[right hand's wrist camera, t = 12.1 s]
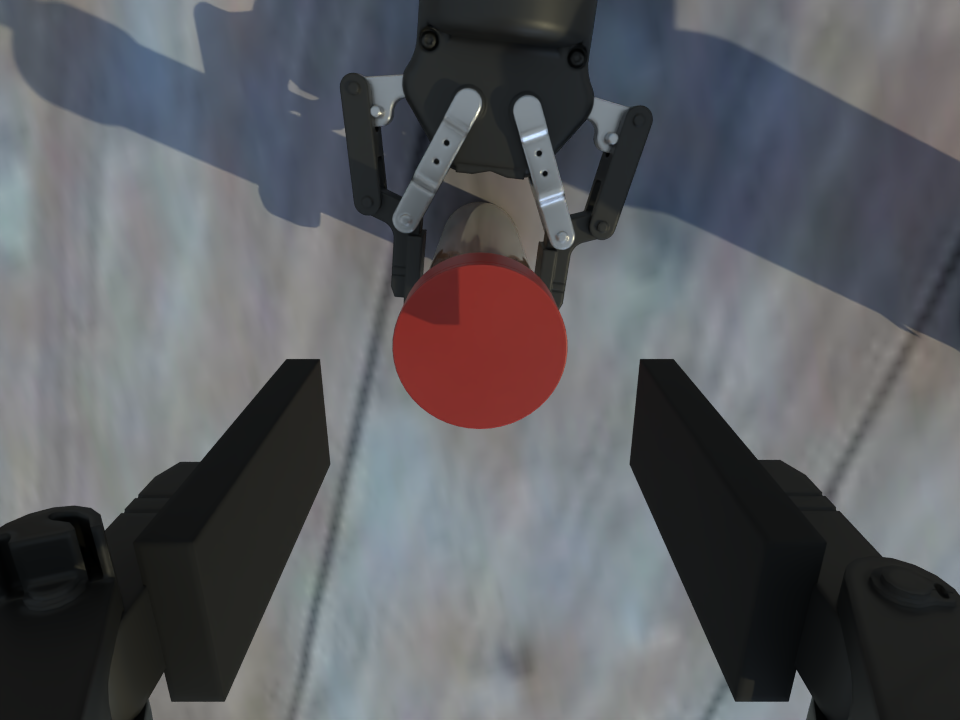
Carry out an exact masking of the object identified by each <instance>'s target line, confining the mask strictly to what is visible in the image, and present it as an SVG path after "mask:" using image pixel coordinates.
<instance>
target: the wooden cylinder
mask: <svg viewBox="0 0 960 720" xmlns="http://www.w3.org/2000/svg"><path fill="white" fill-rule="evenodd" d="M480 252H481V253H493V254H498V255H502V256H505V257H508V258H511V259H514V260H516V261H518V262H520V263H521V264H523V265H525V266H526V267H528V268H529V269H531V268H530V266H529V263H528V260H527V257H526V254H525V252H524V249H523V246H522V243H521V241H520V238H519V235H518V232H517V230H516V227H515V224H514V222H513V221H512V219H511V217H510V216H509V215H508V214H507V213H506V212H505V211H504V210H503V209H501V208H500V207H498V206H496V205H494V204H491V203H487V202H473V203H469V204H466V205H464V206H462V207H460V208H459V209H457V210H456V211H455V212H454V213H453V214H452V215H451V216H450V217H449V219H448V220H447V222H446V224H445V227H444V230H443V232H442V235H441V238H440V241H439V243H438V246H437V249H436V252H435V255H434V257H433V260H432V263H431V266H430V268H429V269H431V268H432V267H434V266H435V265H437V264H438V263H440V262H442V261H445V260H447V259H449V258H452V257H455V256H458V255H462V254H468V253H480Z"/></svg>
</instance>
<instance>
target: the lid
mask: <svg viewBox="0 0 960 720" xmlns="http://www.w3.org/2000/svg"><path fill="white" fill-rule="evenodd" d="M393 358H394V363H395V367H396V371H397V374H398V376H399V378H400V381H401V383H402V384H403V386H404V388H405V390H406V391H407V392H408V394H409V395H410V396H411V398H412V399H413V400H414V401H415V402H416V403H417V404H418V405H419V406H420V407H421V408H423V409H424V410H425V411H427V412H428V413H429V414H431V415H433V416H434V417H436V418H438V419H440V420H442V421H444V422H446V423H449V424H452V425H456V426H459V427H465V428H473V429H487V428H495V427H501V426H504V425H508V424H511V423H513V422H516V421H518V420H520V419H522V418H524V417H526V416H527V415H529V414H531V413H532V412H533V411H535V410H536V409H537V408H539V407H540V406H541V405H542V404H543V403H544V402H545V401H546V400H547V399H548V397H549V396H550V395H551V394H552V392H553V391H554V389H555V388H556V386H557V384H558V383H559V381H560V378H561V376H562V374H563V371H564V367H565V364H566V358H567V335H566V329H565V326H564V322H563V319H562V317H561V314H560V312H559V310H558V307H557V305H556V303H555V301H554V298H553V296H552V294H551V292H550V291H549V289H548V288H547V286H546V285H545V283H544V282H543V281H542V280H541V279H540V278H539V277H538V276H537V275H536V274H535V273H534V272H533V271H532V270H531V269H529V268H528V267H526V266H525V265H523V264H521V263H520V262H518V261H516V260H514V259H511V258H508V257H505V256H502V255H498V254H493V253H481V252H480V253H468V254H462V255H458V256H455V257H452V258H449V259H447V260H445V261H442V262H440V263H438V264H437V265H435V266H434V267H432V268H431V269H429V270H428V271H427V272H426V273H425V274H424V275H423V276H421V278H420V279H419V280H418V281H417V282H416V283H415V285H414V286H413V288H412V289H411V291H410V292H409V294H408V296H407V298H406V300H405V303H404V305H403V307H402V309H401V312H400V314H399V316H398V319H397V322H396V325H395V329H394V335H393Z"/></svg>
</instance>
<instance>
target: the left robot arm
mask: <svg viewBox="0 0 960 720" xmlns="http://www.w3.org/2000/svg"><path fill="white" fill-rule="evenodd" d="M597 1H598V0H419V13H418V29H417V42H416V48H415V51H414V54H413V56H412V59H411V61H410V62H409V64H408V66H407V67H406V69H405V71H404V74H402V75H385V76H368V77H366V76H364V75H361V74H357V73H349V74H347V75H345V76H344V77H343V79H342V80H341V83H340V92H341V100H342V108H343V116H344V124H345V133H346V141H347V149H348V157H349V165H350V173H351V181H352V189H353V197H354V204H355V207H356V209H357V210H358V211H359V212H360V213H361V214H363V215H371V216H373V217H375V218H378V219H380V220H382V221H384V222H385V223H387V224H388V225H389V226H390V227H391V229H392V231H393V234H394V245H393V263H392V281H391V287H392V290H393V293H394V296H395V297H404V303H405V300H406V298H407V296H408V294H409V292H410V291H411V289H412V288H413V286H414V285H415V283H416V282H417V281H418V280H419V279H420V278H421V276H423V270H424V256H425V243H426V230H423V229H422V226H423V216H424V214H425V212H426V210H427V209H428V207H429V205H430V203H431V201H432V200H433V198H434V196H435V194H436V192H437V190H438V189H439V187H440V185H441V183H442V182H443V180H444V178H445V176H446V174H447V173H448V171H449V169H450V168H452V169H454V170H456V172H461V173H470V174H474V173H480V172H487V171H492V172H494V173H497V174H499V175H502V176H504V177H507V178H515V179H524V178H525V177H528V180H529V183H530V186H531V190H532V193H533V196H534V199H535V202H536V205H537V208H538V212H539V215H540V219H541V222H542V225H543V229H544V232H545V235H544V242H539V245H538V252H537V259H536V266H535V274H536V275H537V276H538V277H539V278H540V279H541V280H542V281H543V282H544V283H545V285H546V286H547V288H548V289H549V291H550V292H551V294H552V296H553V298H554V301H555V303H556V305H557V307H558V310H559V309H560V307H561V305H562V304H563V298H564V291H565V286H566V279H567V273H568V267H569V261H570V255H571V252H572V251H573V249H574V248H575V247H576V246H577V245H579V244H581V243H583V242H587V241H592V240H596V239H599V240H605V239H608V238H609V237H611V236H612V235H613V233H614V231H615V229H616V226H617V223H618V220H619V217H620V214H621V211H622V208H623V205H624V203H625V200H626V197H627V194H628V191H629V188H630V185H631V182H632V180H633V177H634V174H635V171H636V168H637V165H638V162H639V159H640V157H641V154H642V151H643V148H644V145H645V142H646V139H647V136H648V134H649V131H650V128H651V125H652V121H653V117H652V113H651V111H650V110H649V109H648V108H647V107H645V106H632V107H626V106H623V105H620V104H616V103H613V102H610V101H606V100H603V99H600V98H597V97H594V92H593V89H592V86H591V83H590V79H589V74H588V60H589V53H590V47H591V40H592V33H593V27H594V20H595V14H596V7H597ZM403 98H406V100H407V102H408V103H409V105H410V107H411V109H412V110H413V112H414V114H415V116H416V117H417V119H418V121H419V123H420V124H421V126H422V128H423V130H424V132H425V133H426V135H427V137H428V139H429V140H430V142H431V143H430V145H429V147H428V149H427V151H426V153H425V154H424V156H423V158H422V160H421V162H420V164H419V166H418V168H417V169H416V171H415V173H414V175H413V177H412V180H411V182H410V184H409V186H408V188H407V190H406V191H405V193H404V195H403V197H401V196H399V195H397V194H395V193H393V192H391V191H389V190H387V183H386V174H385V164H384V155H383V145H382V135H381V126H386V125H388V124H389V123H390V122H391V121H392V120H393V117H394V109H395V106H396V104H397V102H398V101H400V100H401V99H403ZM587 119H588V120H589V121H590V122H591V123H592V124H593V126H594V144H595V146H596V148H597V149H599V150H600V151H603V154H602V157H601V160H600V163H599V166H598V169H597V173H596V176H595V179H594V182H593V185H592V188H591V191H590V194H589V197H588V200H587V203H586V206H585V209H584V211H583V212H579V213H575V214H571V215H570V214H569V211H568V207H567V203H566V200H565V193H564V189H563V185H562V181H561V178H560V174H559V170H558V167H557V163H556V160H555V156H554V155H555V154H556V153H557V152H558V151H559V150H560V149H561V148H562V146H563V145H564V144H565V143H566V142H567V141H568V140H569V139H570V138H571V136H572V135H573V134H574V133H575V132H576V131H577V130H578V129H579V127H580V126H581V125H582V124H583V123H584V122H585V121H586V120H587Z"/></svg>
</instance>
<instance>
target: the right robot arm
mask: <svg viewBox="0 0 960 720" xmlns="http://www.w3.org/2000/svg"><path fill="white" fill-rule="evenodd" d="M329 466H330V456H329V446H328V436H327V426H326V416H325V406H324V395H323V385H322V375H321V365H320V359H286V360H285V362H284V363H283V364H282V365H281V366H280V368H279V369H278V370H277V371H276V372H275V373H274V375H273V376H272V377H271V378H270V379H269V381H268V382H267V383H266V384H265V385H264V387H263V388H262V389H261V390H260V391H259V393H258V394H257V395H256V396H255V397H254V399H253V400H252V401H251V402H250V403H249V405H248V406H247V407H246V408H245V409H244V410H243V412H242V413H241V414H240V415H239V416H238V418H237V419H236V420H235V421H234V422H233V424H232V425H231V426H230V427H229V428H228V430H227V431H226V432H225V433H224V434H223V436H222V437H221V438H220V439H219V440H218V442H217V443H216V444H215V445H214V446H213V447H212V449H211V450H210V451H209V452H208V453H207V455H206V456H205V457H204V458H203V459H202V461H201V462H179V463H178V464H176V465H174V466H173V467H171V468H169V469H168V470H166V471H164V472H163V473H161V474H159V475H157V476H156V477H154V479H153V480H152V481H151V482H150V483H149V484H148V485H147V486H146V487H145V488H144V489H143V490H142V491H141V492H140V494H139V495H138V498H135V499H134V500H133V501H132V502H131V503H130V504H129V505H128V506H127V507H126V509H125V512H124V513H121V514H120V515H119V516H118V517H117V518H116V519H115V520H114V521H113V522H112V524H111V525H110V526H109V527H108V528H107V529H106V530H104V526H103V523H102V519H101V515H100V514H99V513H97V512H96V511H94V510H93V509H92V508H87V507H80V506H65V507H54V508H50V509H46V510H42V511H38V512H34V513H30V514H28V515H25V516H23V517H21V518H18V519H16V520H14V521H11V522H9V523H7V524H5V525H3V526H2V527H0V720H153V718H152V711H151V707H150V703H149V699H148V698H149V697H150V695H151V693H152V692H153V690H154V688H155V686H156V685H157V683H158V681H159V679H160V678H161V676H162V674H163V673H165V677H166V681H167V685H168V690H169V694H170V698H171V702H225V700H226V697H227V695H228V693H229V691H230V688H231V686H232V684H233V682H234V679H235V677H236V675H237V673H238V670H239V668H240V666H241V664H242V662H243V659H244V657H245V655H246V653H247V650H248V648H249V646H250V644H251V641H252V639H253V637H254V635H255V632H256V630H257V628H258V626H259V623H260V621H261V619H262V617H263V614H264V612H265V610H266V608H267V605H268V603H269V601H270V599H271V596H272V594H273V592H274V590H275V587H276V585H277V583H278V581H279V578H280V576H281V574H282V572H283V569H284V567H285V565H286V563H287V560H288V558H289V556H290V554H291V551H292V549H293V547H294V545H295V543H296V540H297V538H298V536H299V534H300V531H301V529H302V527H303V525H304V522H305V520H306V518H307V516H308V513H309V511H310V509H311V507H312V504H313V502H314V500H315V498H316V495H317V493H318V491H319V489H320V486H321V484H322V482H323V480H324V477H325V475H326V473H327V471H328V468H329ZM630 466H631V468H632V471H633V473H634V475H635V477H636V480H637V482H638V484H639V486H640V489H641V491H642V493H643V495H644V498H645V500H646V502H647V504H648V507H649V509H650V511H651V513H652V516H653V518H654V520H655V522H656V525H657V527H658V529H659V531H660V534H661V536H662V538H663V540H664V543H665V545H666V547H667V549H668V551H669V554H670V556H671V558H672V560H673V563H674V565H675V567H676V569H677V572H678V574H679V576H680V578H681V581H682V583H683V585H684V587H685V590H686V592H687V594H688V596H689V599H690V601H691V603H692V605H693V608H694V610H695V612H696V614H697V617H698V619H699V621H700V623H701V626H702V628H703V630H704V632H705V635H706V637H707V639H708V641H709V644H710V646H711V648H712V650H713V653H714V655H715V657H716V659H717V662H718V664H719V666H720V668H721V670H722V673H723V675H724V677H725V679H726V682H727V684H728V686H729V688H730V691H731V693H732V695H733V697H734V700H735V702H789V698H790V694H791V690H792V685H793V681H794V677H795V673H796V669H797V671H798V673H799V675H800V676H801V678H802V680H803V681H804V683H805V685H806V687H807V688H808V690H809V692H810V693H811V695H812V699H811V703H810V707H809V711H808V715H807V718H806V720H960V595H959V594H958V593H957V591H956V590H955V589H954V588H953V587H951V586H950V585H949V584H947V583H946V582H945V581H943V580H942V579H940V578H939V577H938V576H936V575H934V574H932V573H930V572H928V571H926V570H924V569H922V568H920V567H918V566H916V565H913V564H910V563H907V562H903V561H900V560H897V559H893V558H886V557H882V556H881V555H880V554H879V553H878V552H877V551H876V549H875V548H874V547H873V546H872V545H871V544H870V543H869V542H868V541H867V540H866V539H865V538H864V537H863V536H862V535H861V533H860V532H859V531H858V530H857V529H856V528H855V527H854V526H853V525H852V524H851V523H850V522H849V521H848V520H847V519H846V517H845V516H844V515H843V514H842V513H841V512H840V511H836V507H835V506H834V505H833V504H832V503H831V502H830V500H829V499H828V498H827V497H826V496H822V492H821V491H820V490H819V489H818V488H817V487H816V486H815V484H814V483H813V482H812V481H811V480H810V479H809V478H808V477H807V476H806V475H805V474H803V473H801V472H800V471H798V470H796V469H795V468H793V467H791V466H789V465H788V464H786V463H784V462H783V461H781V460H758V459H757V458H756V457H755V456H754V455H753V453H752V452H751V451H750V450H749V449H748V447H747V446H746V445H745V444H744V443H743V442H742V440H741V439H740V438H739V437H738V436H737V434H736V433H735V432H734V431H733V430H732V428H731V427H730V426H729V425H728V424H727V422H726V421H725V420H724V419H723V418H722V416H721V415H720V414H719V413H718V412H717V410H716V409H715V408H714V407H713V406H712V405H711V403H710V402H709V401H708V400H707V399H706V397H705V396H704V395H703V394H702V393H701V391H700V390H699V389H698V388H697V387H696V385H695V384H694V383H693V382H692V381H691V379H690V378H689V377H688V376H687V375H686V373H685V372H684V371H683V370H682V369H681V368H680V366H679V365H678V364H677V363H676V362H675V360H674V359H640V365H639V375H638V385H637V395H636V406H635V416H634V426H633V436H632V446H631V456H630Z"/></svg>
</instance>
